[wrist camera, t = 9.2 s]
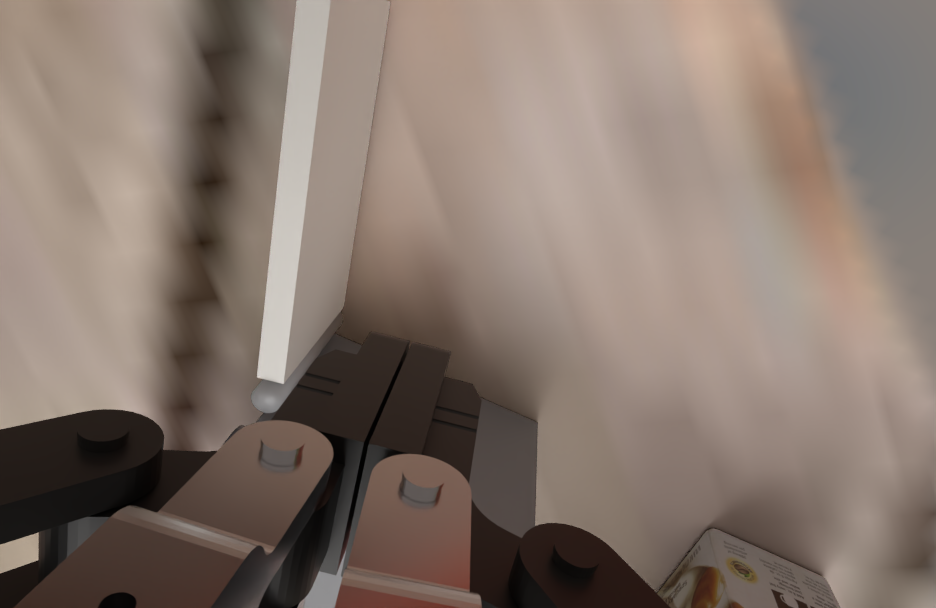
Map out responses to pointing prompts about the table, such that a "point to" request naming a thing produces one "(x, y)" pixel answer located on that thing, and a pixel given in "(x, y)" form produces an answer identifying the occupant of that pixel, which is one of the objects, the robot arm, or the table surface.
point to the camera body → (491, 480)
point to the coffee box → (742, 578)
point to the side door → (318, 185)
